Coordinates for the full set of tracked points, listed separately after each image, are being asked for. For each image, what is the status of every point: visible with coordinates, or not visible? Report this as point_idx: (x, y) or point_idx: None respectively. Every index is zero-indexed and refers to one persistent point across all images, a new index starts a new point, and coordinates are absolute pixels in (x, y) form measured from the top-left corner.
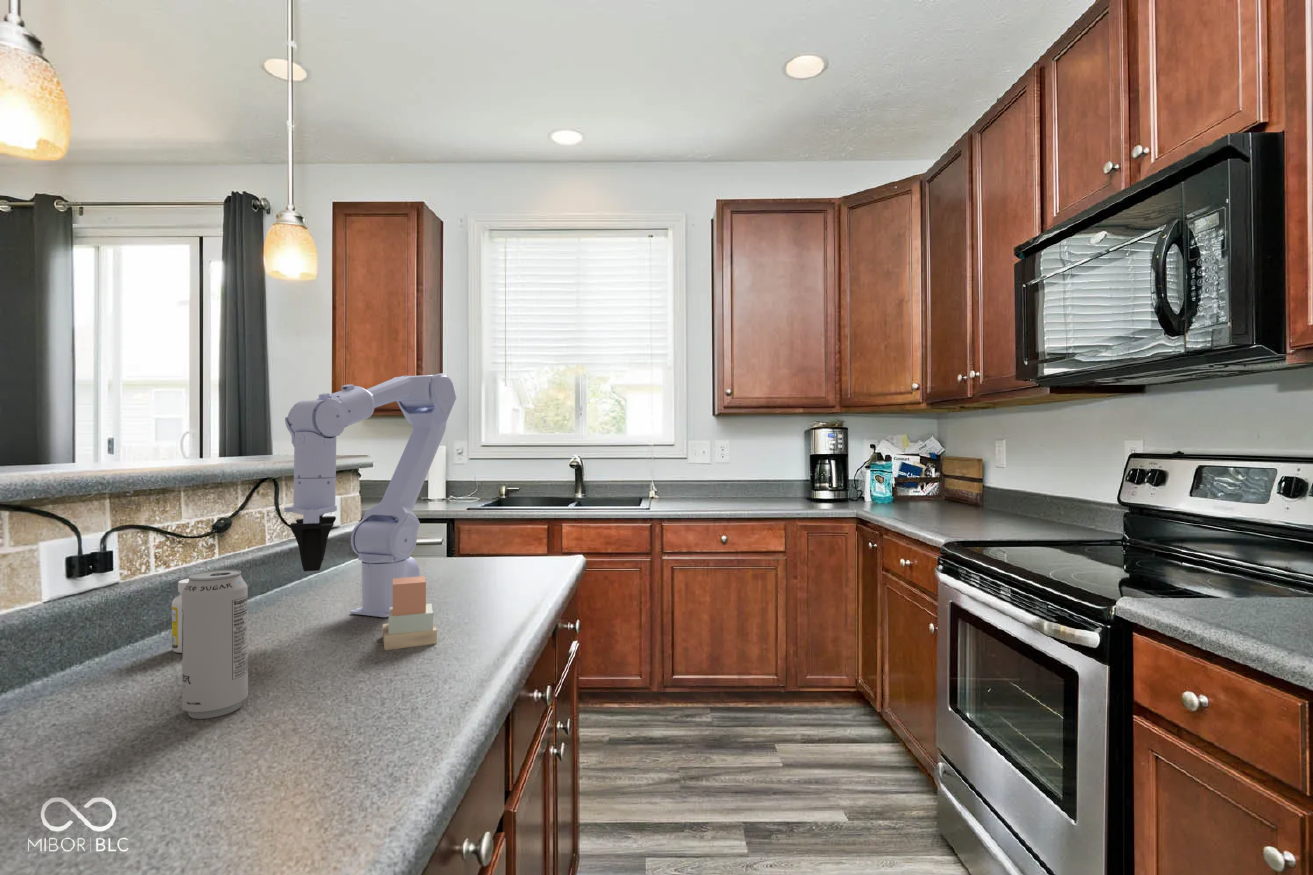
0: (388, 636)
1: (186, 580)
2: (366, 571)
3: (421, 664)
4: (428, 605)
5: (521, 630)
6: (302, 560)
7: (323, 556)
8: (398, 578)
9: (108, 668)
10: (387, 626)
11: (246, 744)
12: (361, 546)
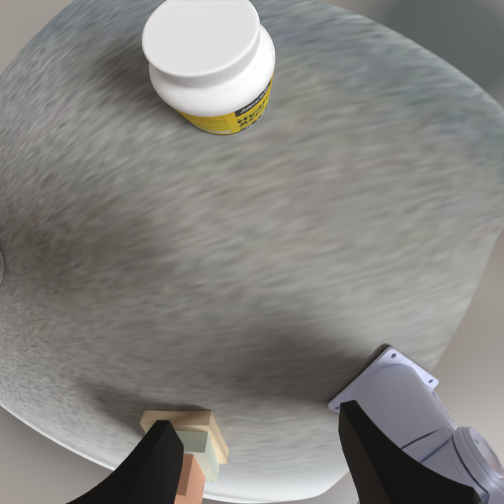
0: (141, 426)
1: (201, 3)
2: (390, 436)
3: (99, 427)
4: (205, 479)
5: (206, 493)
6: (139, 444)
7: (342, 448)
8: (185, 498)
9: (142, 21)
10: (192, 429)
11: None
12: (436, 464)
